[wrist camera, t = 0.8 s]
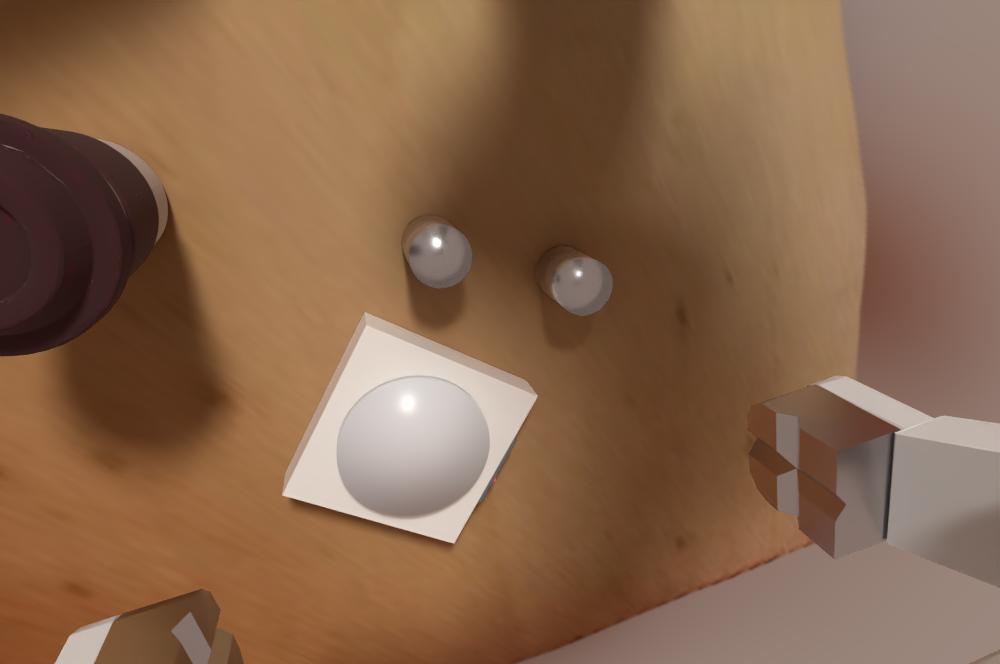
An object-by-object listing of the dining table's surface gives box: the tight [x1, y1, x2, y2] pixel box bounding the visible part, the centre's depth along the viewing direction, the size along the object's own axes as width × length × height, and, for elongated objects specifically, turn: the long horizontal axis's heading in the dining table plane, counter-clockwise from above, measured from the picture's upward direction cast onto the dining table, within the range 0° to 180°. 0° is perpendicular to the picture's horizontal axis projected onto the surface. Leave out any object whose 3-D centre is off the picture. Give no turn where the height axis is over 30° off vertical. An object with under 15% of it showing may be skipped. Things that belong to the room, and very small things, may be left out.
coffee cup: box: [0, 114, 168, 356], centre depth 28 cm, size 10×10×15 cm
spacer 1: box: [402, 215, 472, 288], centre depth 39 cm, size 4×4×5 cm
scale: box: [282, 312, 538, 544], centre depth 44 cm, size 14×15×4 cm
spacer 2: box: [536, 246, 613, 316], centre depth 42 cm, size 4×4×5 cm
